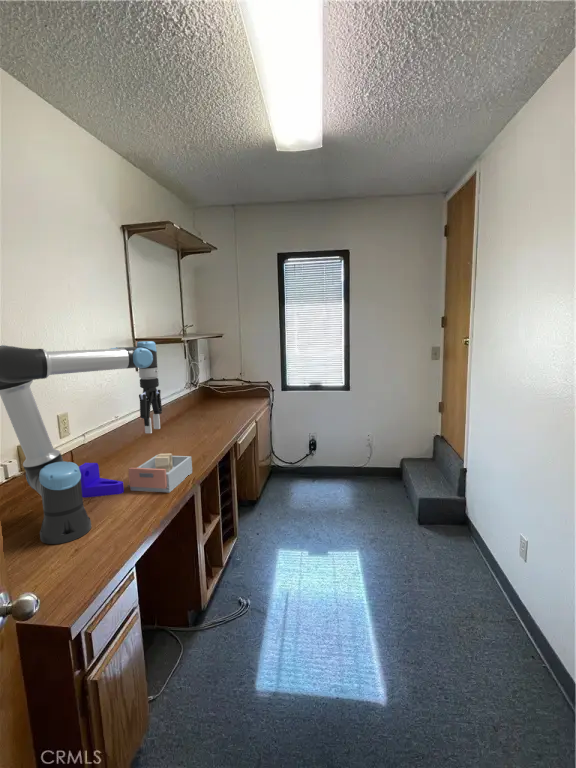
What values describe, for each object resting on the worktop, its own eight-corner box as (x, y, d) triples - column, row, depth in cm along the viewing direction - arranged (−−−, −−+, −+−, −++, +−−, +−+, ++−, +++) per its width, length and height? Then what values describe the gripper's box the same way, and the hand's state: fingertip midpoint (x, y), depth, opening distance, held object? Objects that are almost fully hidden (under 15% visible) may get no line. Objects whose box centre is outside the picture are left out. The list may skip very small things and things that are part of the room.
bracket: (75, 497, 159) (72, 470, 158) (90, 486, 170) (88, 461, 168) (116, 498, 158) (114, 470, 156) (129, 487, 168) (127, 461, 167)
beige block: (168, 472, 177) (167, 457, 176) (156, 472, 177) (154, 458, 176) (172, 467, 183) (171, 453, 182) (160, 467, 183) (159, 453, 182)
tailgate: (163, 470, 158) (165, 469, 160) (127, 468, 161) (130, 467, 163) (165, 489, 159) (167, 487, 161) (129, 487, 162) (131, 485, 164)
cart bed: (168, 494, 160) (167, 475, 159) (128, 491, 163) (126, 473, 162) (192, 472, 184) (191, 456, 183) (157, 470, 187) (155, 455, 186)
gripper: (144, 381, 152) (149, 437, 155) (168, 375, 171) (171, 425, 174) (127, 381, 154) (132, 436, 157) (152, 375, 172) (156, 425, 176)
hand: (152, 430), depth 166 cm, fingers open, 6 cm apart
